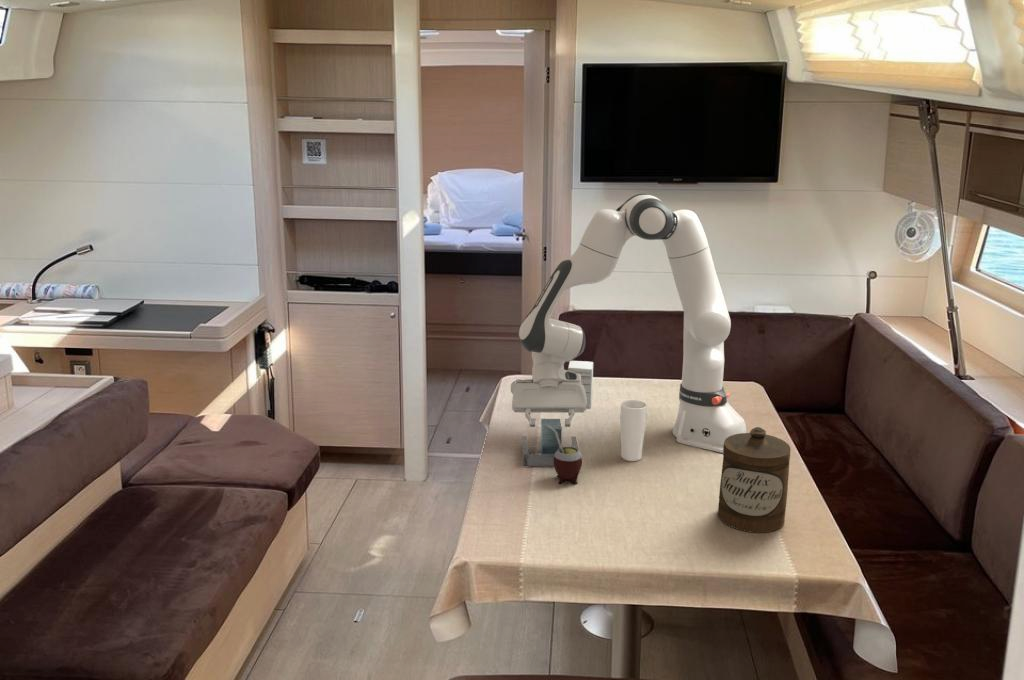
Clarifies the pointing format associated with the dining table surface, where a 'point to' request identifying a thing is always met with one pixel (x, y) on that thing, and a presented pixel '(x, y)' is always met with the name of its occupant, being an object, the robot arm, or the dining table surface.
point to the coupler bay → (541, 455)
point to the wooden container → (754, 481)
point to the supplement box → (584, 376)
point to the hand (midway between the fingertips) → (550, 426)
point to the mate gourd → (566, 462)
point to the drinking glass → (632, 429)
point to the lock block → (550, 436)
